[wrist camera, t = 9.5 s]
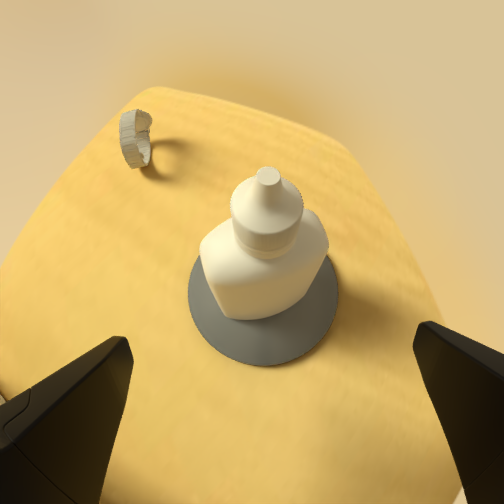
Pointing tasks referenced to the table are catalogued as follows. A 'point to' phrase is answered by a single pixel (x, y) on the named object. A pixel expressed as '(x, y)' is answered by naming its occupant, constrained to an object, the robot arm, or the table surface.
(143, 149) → the wristwatch
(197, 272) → the charcoal coaster
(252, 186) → the eye dropper bottle
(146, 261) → the table surface
